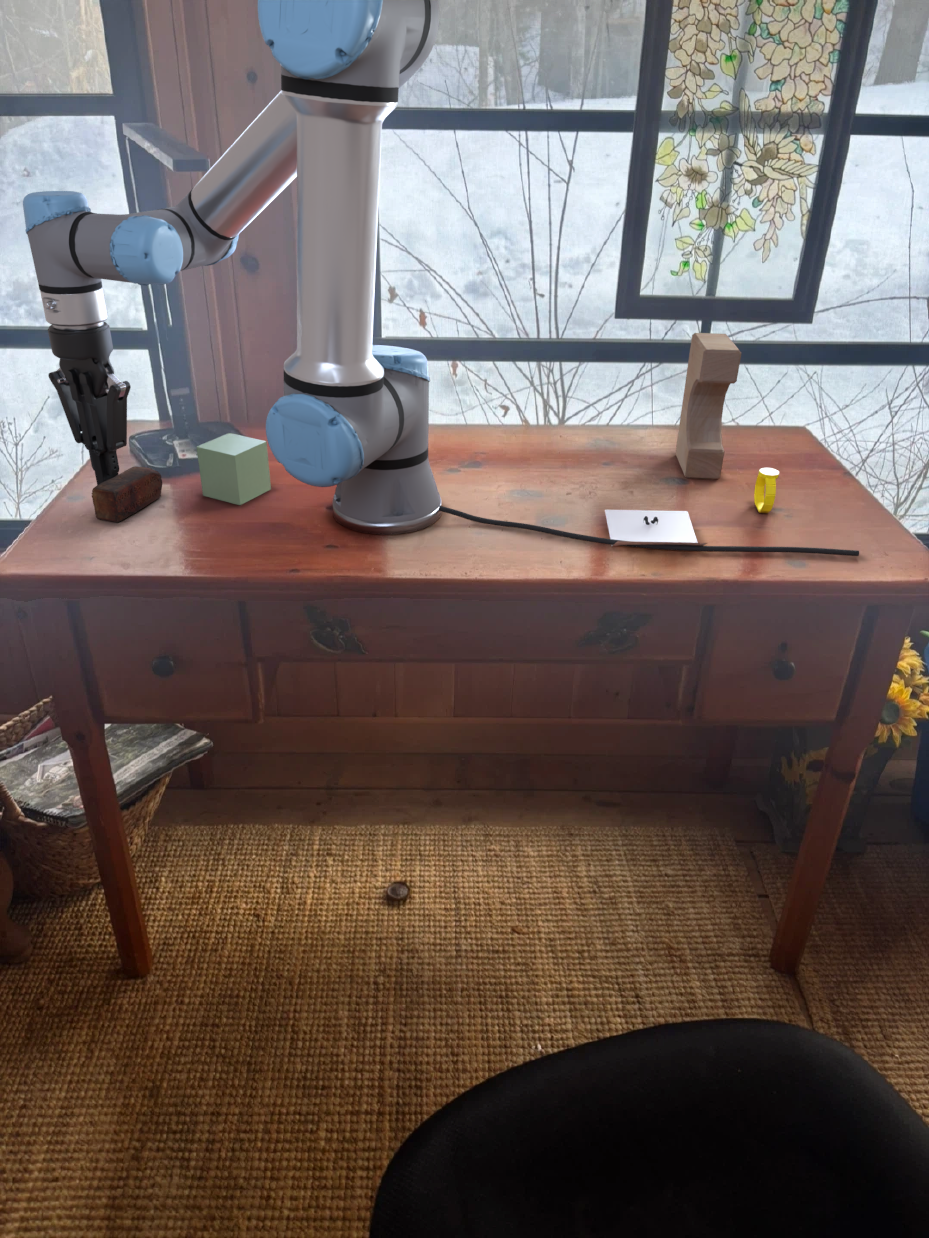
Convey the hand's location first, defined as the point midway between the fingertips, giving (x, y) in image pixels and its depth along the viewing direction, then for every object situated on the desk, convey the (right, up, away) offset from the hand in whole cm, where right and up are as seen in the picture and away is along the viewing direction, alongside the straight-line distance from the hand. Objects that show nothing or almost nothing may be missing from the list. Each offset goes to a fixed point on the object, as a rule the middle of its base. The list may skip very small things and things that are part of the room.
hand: (110, 493), depth 130 cm
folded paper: (+76, -7, -5) cm, 76 cm away
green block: (+17, +1, +5) cm, 18 cm away
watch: (+94, -2, +3) cm, 94 cm away
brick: (+3, -2, -1) cm, 4 cm away
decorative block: (+88, +7, +18) cm, 90 cm away
